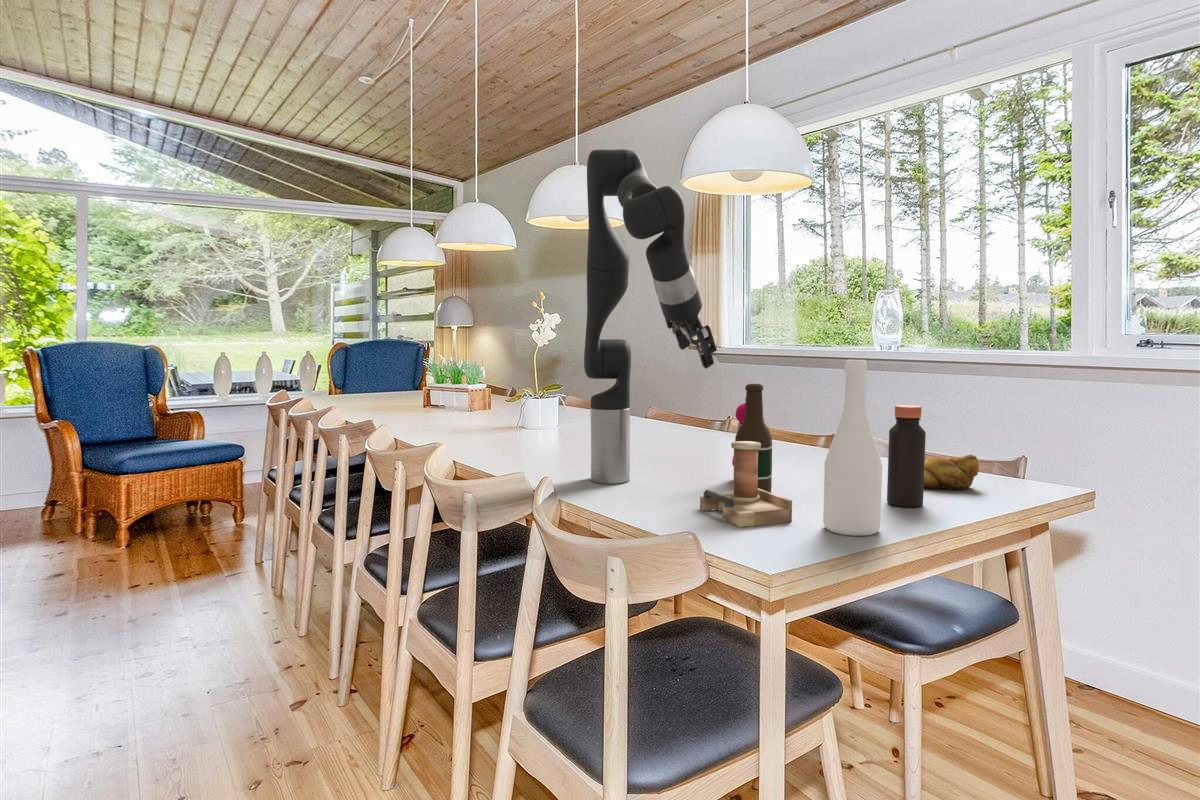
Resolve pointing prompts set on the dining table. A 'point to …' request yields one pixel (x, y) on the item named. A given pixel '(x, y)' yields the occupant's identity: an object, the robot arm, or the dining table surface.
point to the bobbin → (745, 471)
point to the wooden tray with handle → (749, 508)
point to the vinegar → (906, 458)
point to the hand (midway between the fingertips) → (696, 356)
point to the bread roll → (950, 472)
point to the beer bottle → (757, 434)
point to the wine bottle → (853, 465)
